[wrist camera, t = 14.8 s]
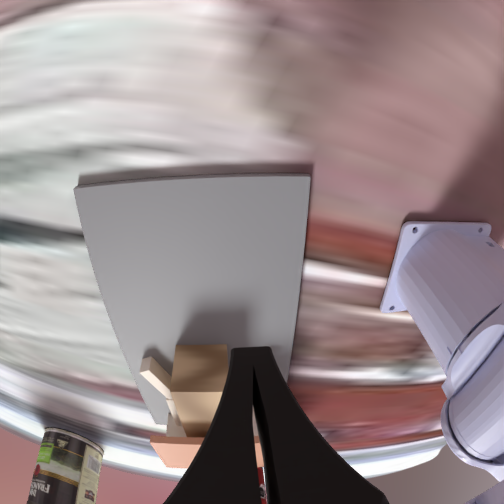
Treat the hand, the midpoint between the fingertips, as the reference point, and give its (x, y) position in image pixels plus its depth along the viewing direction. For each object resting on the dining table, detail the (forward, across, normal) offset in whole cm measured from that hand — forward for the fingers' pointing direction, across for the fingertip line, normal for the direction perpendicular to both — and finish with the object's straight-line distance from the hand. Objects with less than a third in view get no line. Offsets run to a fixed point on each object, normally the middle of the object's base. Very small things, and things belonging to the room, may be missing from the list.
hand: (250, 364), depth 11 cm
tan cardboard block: (+9, +3, +14) cm, 17 cm away
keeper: (+10, +3, +9) cm, 14 cm away
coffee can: (+10, +27, +35) cm, 45 cm away
